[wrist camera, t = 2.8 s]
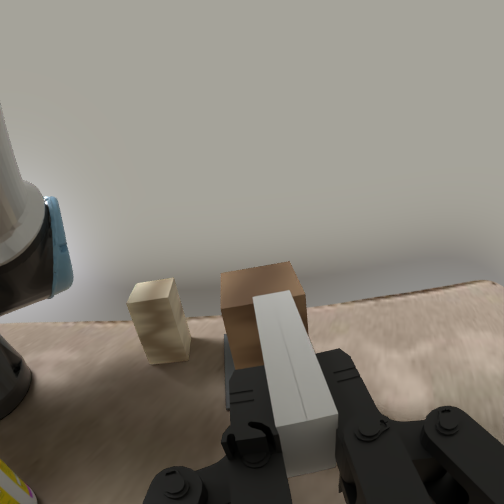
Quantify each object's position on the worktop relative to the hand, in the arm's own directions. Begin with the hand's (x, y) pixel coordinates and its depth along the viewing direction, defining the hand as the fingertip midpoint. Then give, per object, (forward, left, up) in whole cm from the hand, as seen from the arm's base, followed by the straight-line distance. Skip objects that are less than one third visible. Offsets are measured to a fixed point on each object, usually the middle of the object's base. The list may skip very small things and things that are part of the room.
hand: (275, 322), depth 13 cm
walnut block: (-3, +7, -17) cm, 19 cm away
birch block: (-20, +15, -17) cm, 31 cm away
